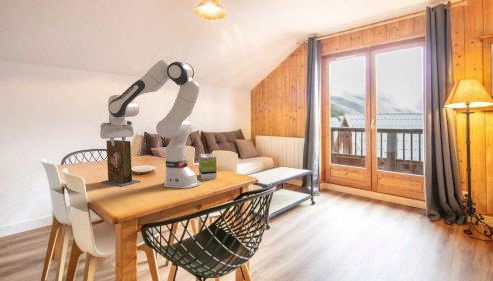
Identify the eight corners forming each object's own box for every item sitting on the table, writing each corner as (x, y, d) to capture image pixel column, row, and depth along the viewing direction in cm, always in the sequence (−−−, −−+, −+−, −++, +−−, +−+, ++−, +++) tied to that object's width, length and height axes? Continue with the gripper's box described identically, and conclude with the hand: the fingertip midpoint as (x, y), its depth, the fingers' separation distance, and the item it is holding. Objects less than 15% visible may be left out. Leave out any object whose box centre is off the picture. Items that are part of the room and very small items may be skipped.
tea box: (198, 174, 180) (198, 153, 178) (212, 174, 183) (212, 153, 181) (201, 179, 165) (201, 157, 164) (216, 178, 168) (216, 156, 167)
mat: (140, 181, 160) (140, 180, 160) (121, 186, 149) (121, 185, 149) (119, 178, 170) (119, 177, 170) (100, 182, 158) (100, 181, 158)
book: (106, 180, 161) (105, 140, 158) (114, 178, 165) (113, 140, 163) (124, 183, 153) (122, 141, 151) (132, 181, 158) (130, 141, 156)
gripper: (103, 122, 146) (105, 147, 147) (134, 122, 164) (135, 143, 165) (97, 122, 149) (98, 146, 150) (128, 122, 167) (129, 143, 168)
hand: (118, 145), depth 158 cm, fingers open, 4 cm apart
